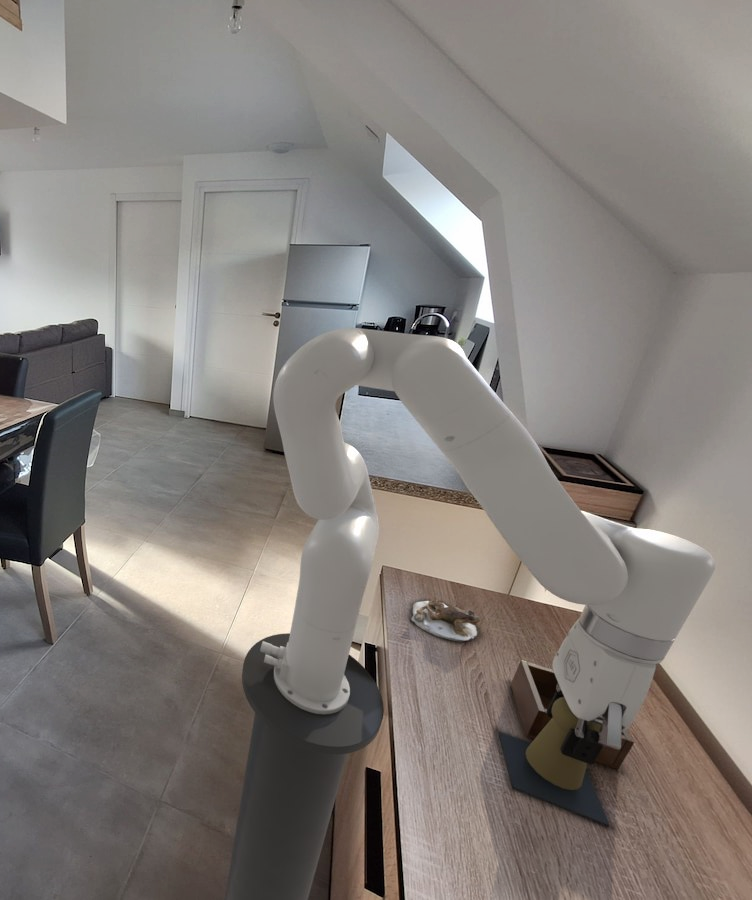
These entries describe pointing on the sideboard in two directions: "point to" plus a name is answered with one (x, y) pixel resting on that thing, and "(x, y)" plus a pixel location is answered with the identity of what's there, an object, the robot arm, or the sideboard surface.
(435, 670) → the sideboard surface
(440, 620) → the frog figurine
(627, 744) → the open wooden box
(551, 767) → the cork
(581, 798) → the mat
